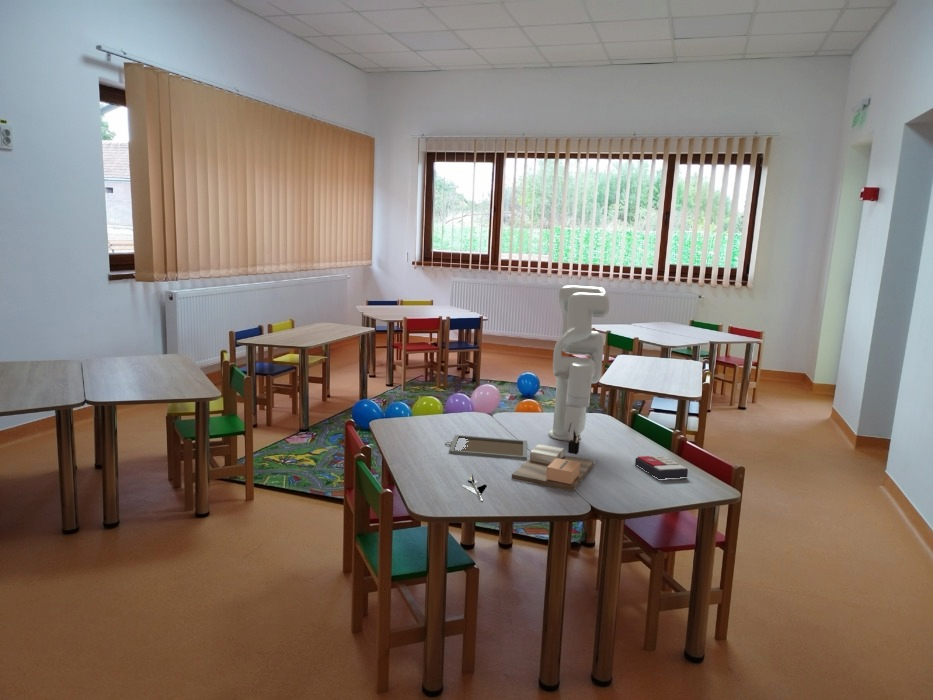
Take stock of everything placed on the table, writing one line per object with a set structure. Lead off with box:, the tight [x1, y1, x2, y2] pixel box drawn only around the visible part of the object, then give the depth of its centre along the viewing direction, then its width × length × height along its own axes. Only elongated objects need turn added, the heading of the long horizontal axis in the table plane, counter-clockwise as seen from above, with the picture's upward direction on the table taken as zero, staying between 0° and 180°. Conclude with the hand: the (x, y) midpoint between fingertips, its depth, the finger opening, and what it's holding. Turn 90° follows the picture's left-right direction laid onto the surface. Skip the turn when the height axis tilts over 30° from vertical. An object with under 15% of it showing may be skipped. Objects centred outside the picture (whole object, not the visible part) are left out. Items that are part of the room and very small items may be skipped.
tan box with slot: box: [546, 458, 580, 484], centre depth 199 cm, size 10×8×4 cm
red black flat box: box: [634, 455, 689, 479], centre depth 214 cm, size 11×4×15 cm
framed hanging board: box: [444, 434, 528, 461], centre depth 229 cm, size 19×2×30 cm
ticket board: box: [511, 443, 595, 492], centre depth 208 cm, size 28×20×4 cm
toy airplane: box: [461, 474, 488, 502], centre depth 190 cm, size 8×21×2 cm, turn 10°
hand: (573, 452), depth 210 cm, fingers closed
